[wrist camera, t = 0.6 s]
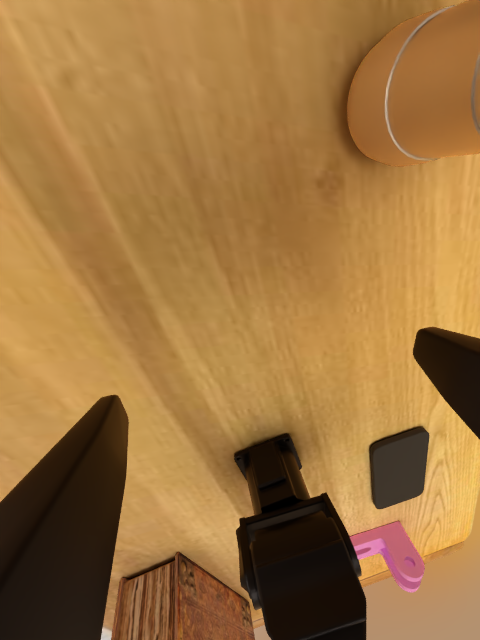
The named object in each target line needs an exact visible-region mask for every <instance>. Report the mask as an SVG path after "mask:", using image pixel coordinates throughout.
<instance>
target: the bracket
mask: <svg viewBox="0 0 480 640" xmlns="http://www.w3.org/2000/svg"><path fill="white" fill-rule="evenodd" d="M350 539H351V541H352V544H353V546H354V549H355V552H356V554H357V557H358V560H359V559H362V558H365V557H368V556H372V555H375V554H378V553H380V554H381V555H382V556H383V558H384V560H385V562H386V564H387V566H388V567H389V569H390V571H391V573H392V575H393V577H394V579H395V581H396V583H397V584H398V585H399V586H400V587H401V588H402V589H403V590H405V591H407V592H415V591H416V590H418V588H419V586H420V583H421V578H422V576H423V574H424V570H425V568H424V563H423V560H422V558H421V557H420V555H419V553H418V552H417V550H416V548H415V547H414V545H413V543H412V542H411V540H410V538H409V537H408V535H407V533H406V532H405V530H404V529H403V527H402V525H401V524H400V522H399V521H397V522H394V523H391V524H388V525H385V526H381V527H378V528H375V529H372V530H369V531H366V532H363V533H359V534H356V535H353V536H350Z"/></svg>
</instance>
